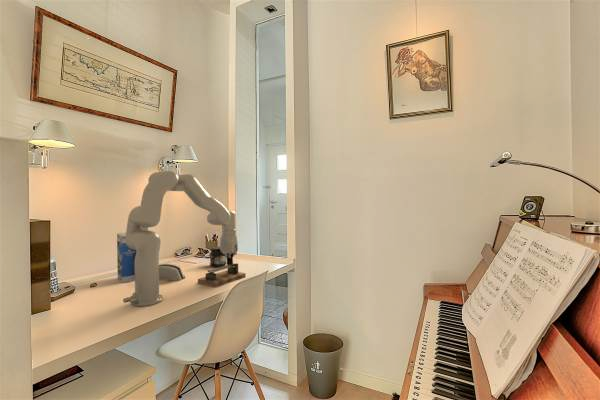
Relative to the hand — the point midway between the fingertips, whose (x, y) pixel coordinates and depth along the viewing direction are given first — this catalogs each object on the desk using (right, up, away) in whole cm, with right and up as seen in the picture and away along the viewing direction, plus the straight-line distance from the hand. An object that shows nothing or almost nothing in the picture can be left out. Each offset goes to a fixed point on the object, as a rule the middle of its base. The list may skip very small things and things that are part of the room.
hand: (229, 264), depth 168 cm
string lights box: (-57, -8, -3) cm, 57 cm away
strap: (-3, -2, -5) cm, 6 cm away
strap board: (-3, -8, -5) cm, 9 cm away
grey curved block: (-34, -8, -3) cm, 35 cm away
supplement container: (-14, -7, +28) cm, 32 cm away
